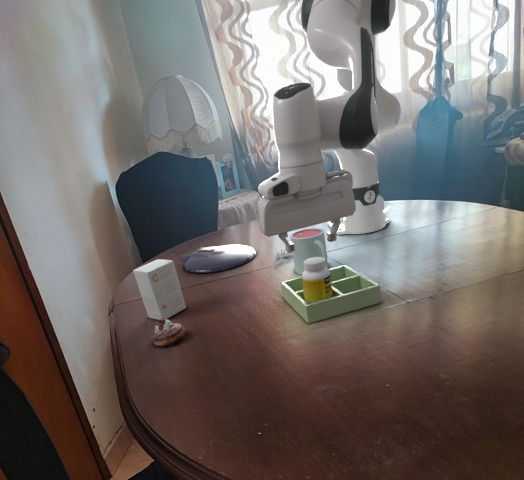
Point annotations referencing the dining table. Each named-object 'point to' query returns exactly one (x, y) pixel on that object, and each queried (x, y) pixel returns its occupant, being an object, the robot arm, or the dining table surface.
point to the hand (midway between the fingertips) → (311, 246)
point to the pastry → (167, 333)
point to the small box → (160, 289)
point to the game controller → (283, 254)
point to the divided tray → (333, 294)
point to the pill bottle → (316, 280)
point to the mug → (308, 246)
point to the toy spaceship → (217, 258)
